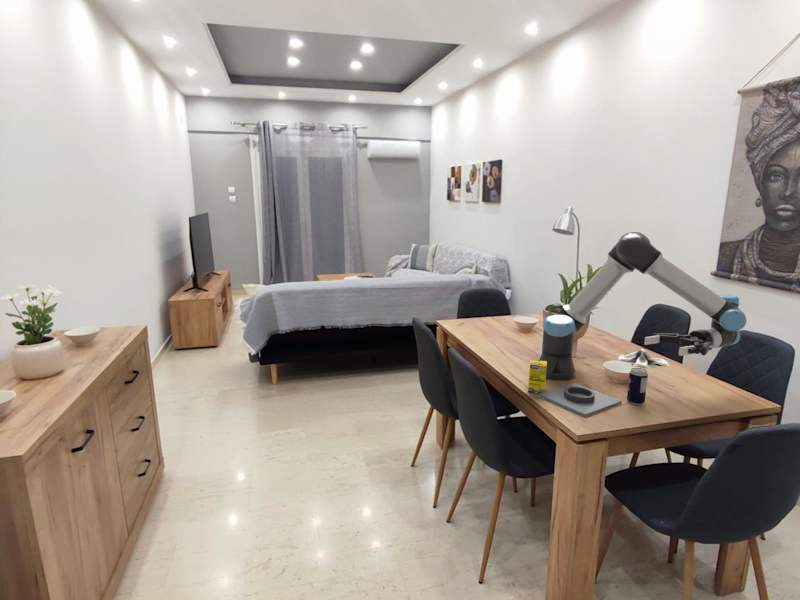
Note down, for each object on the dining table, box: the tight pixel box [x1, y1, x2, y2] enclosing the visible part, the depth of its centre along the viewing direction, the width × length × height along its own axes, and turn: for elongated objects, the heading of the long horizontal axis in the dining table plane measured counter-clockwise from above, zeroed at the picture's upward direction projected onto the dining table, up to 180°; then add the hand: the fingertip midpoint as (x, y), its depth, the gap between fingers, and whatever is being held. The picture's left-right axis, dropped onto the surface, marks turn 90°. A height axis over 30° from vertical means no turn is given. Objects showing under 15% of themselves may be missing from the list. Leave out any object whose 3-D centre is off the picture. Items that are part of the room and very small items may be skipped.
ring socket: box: [537, 382, 623, 418], centre depth 167 cm, size 20×20×3 cm
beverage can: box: [626, 367, 649, 406], centre depth 164 cm, size 6×6×12 cm
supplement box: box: [527, 359, 547, 394], centre depth 174 cm, size 6×6×11 cm
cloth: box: [617, 348, 670, 369], centre depth 209 cm, size 22×19×6 cm
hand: (662, 346), depth 164 cm, fingers open, 13 cm apart
